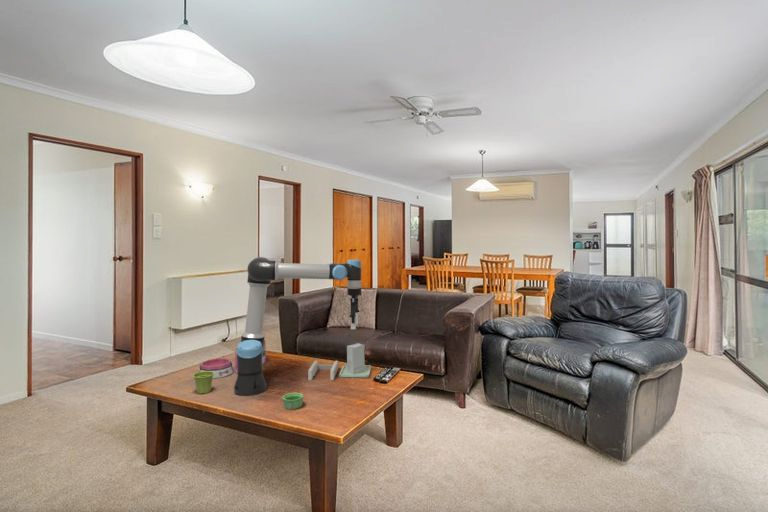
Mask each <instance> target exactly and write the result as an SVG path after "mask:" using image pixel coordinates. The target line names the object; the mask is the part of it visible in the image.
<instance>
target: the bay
mask: <svg viewBox="0 0 768 512" xmlns="http://www.w3.org/2000/svg"><path fill="white" fill-rule="evenodd" d="M339 367H340V365H339V360H334V362H333V364H326V363H325V364H322V363H321V364H319V363H318V360H314V361H313V362H312V364H311V365H310V367H309V369H308V370H307V374H308V375H307V377H308V378H307V380H308V381H312V380H313V379H314V377H315V375H316V373H317V371H318V370H321V371H322V370H330V373H329V375H330V376H329V377H330V381H335V377H336V375H337V374H338V371H339ZM313 376H314V377H313Z"/></svg>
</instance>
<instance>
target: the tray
mask: <svg viewBox="0 0 768 512" xmlns="http://www.w3.org/2000/svg"><path fill="white" fill-rule="evenodd" d="M371 369H372V365H371V364H368V365H367V364H365V371H363V372H359V373H356V374H351V373H349V372H347V364H344V365H342V366H341V369H340V372H339V374H338V379H370V374H371Z"/></svg>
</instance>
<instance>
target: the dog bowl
mask: <svg viewBox="0 0 768 512" xmlns="http://www.w3.org/2000/svg"><path fill="white" fill-rule="evenodd" d="M203 371H212V372H214V375H213V377H212V380H218V379H223V378H227V377H230V376H232V375H233V374H234V373H235V369H234V368H233V363H232V361H231V359H229V358H221V357H219V358H218V357H217V358H210V359H206V360H204V361H202V362H201V363H200V365H199V370H198V372H203Z"/></svg>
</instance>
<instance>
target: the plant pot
mask: <svg viewBox="0 0 768 512" xmlns="http://www.w3.org/2000/svg"><path fill="white" fill-rule="evenodd" d="M213 375H214V372H212V371H203V372H199V371H198V372H195V373H194V374H192V377H193V378H194V382H195V388H196V393H197V394H199V395H201V394H207V393H210V392H211V391H212V382H213V379H212V377H213Z"/></svg>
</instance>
